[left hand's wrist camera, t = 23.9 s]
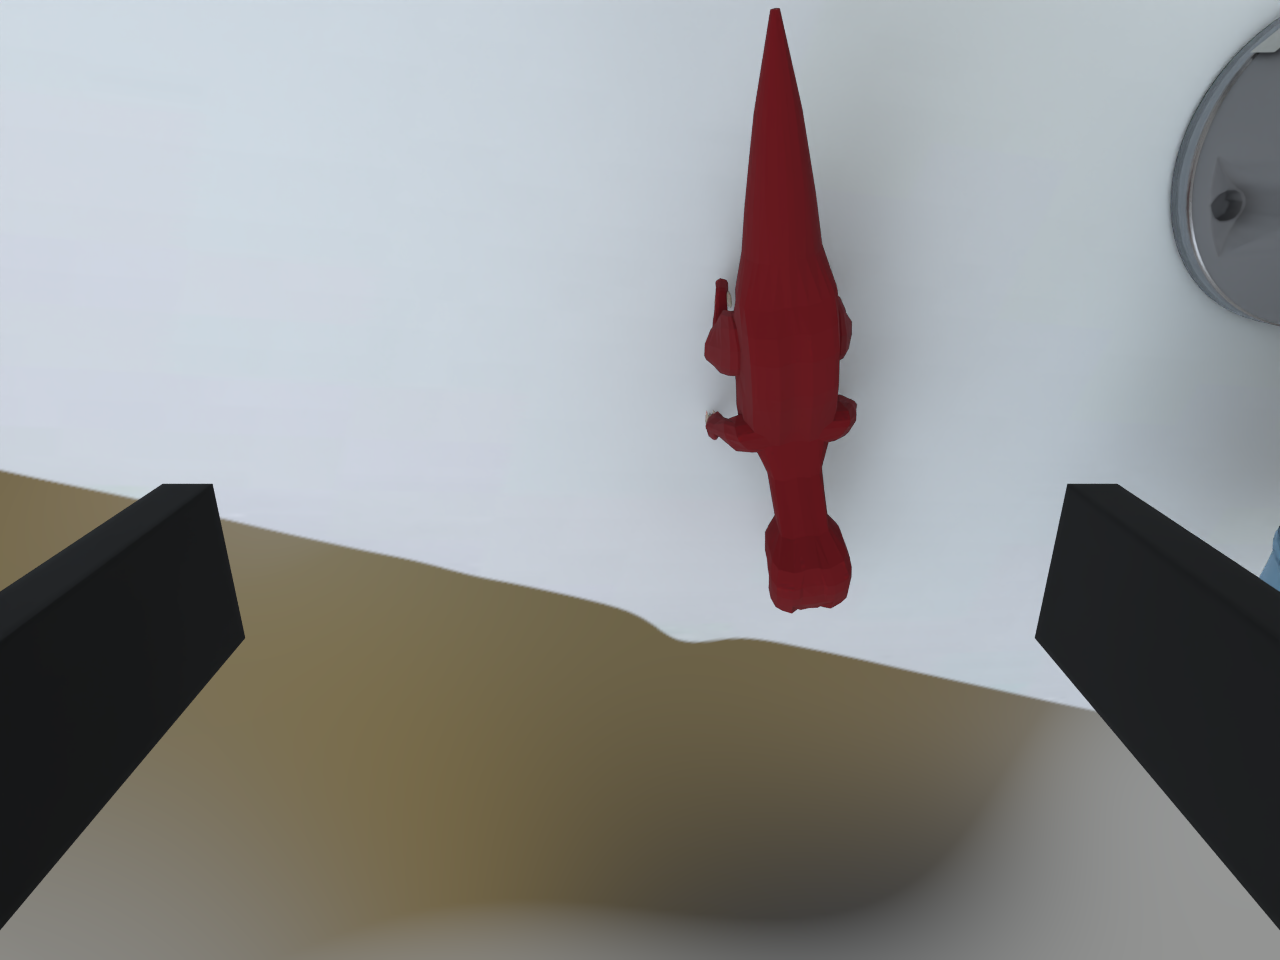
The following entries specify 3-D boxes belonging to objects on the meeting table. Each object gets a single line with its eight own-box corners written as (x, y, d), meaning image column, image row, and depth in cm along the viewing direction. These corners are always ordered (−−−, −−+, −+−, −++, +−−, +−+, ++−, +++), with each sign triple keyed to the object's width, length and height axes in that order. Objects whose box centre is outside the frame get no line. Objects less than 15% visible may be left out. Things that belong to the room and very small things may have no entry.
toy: (718, 553, 47) (740, 671, 37) (654, 45, 36) (663, 26, 26) (842, 536, 47) (897, 651, 37) (818, 17, 35) (889, -13, 26)
